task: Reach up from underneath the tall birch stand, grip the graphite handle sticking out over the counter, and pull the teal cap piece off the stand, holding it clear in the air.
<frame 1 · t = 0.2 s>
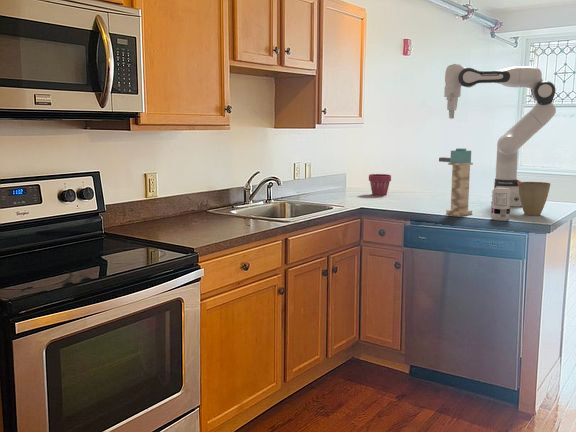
hand: (451, 118, 331), 48 cm above the worktop, tool pointing down, fingers open, 8 cm apart
plant pot: (532, 214, 293), on the worktop
teal cap handle: (460, 162, 292), point 26 cm above the worktop, touching birch stand
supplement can: (500, 219, 280), on the worktop
plant pot 2: (379, 195, 373), on the worktop
birch stand: (458, 214, 296), on the worktop
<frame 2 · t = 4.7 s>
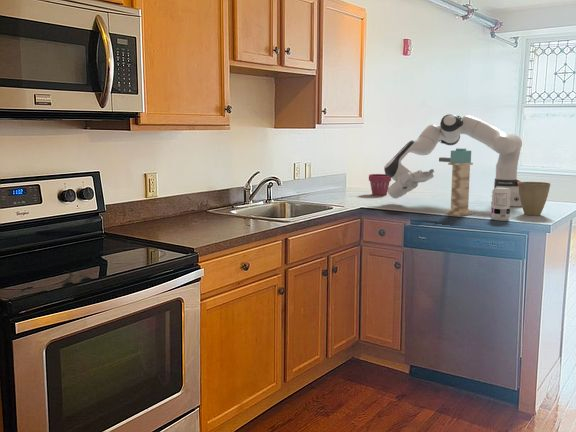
hand: (426, 170, 310), 20 cm above the worktop, tool pointing upward, fingers open, 8 cm apart
nothing on the worktop moved.
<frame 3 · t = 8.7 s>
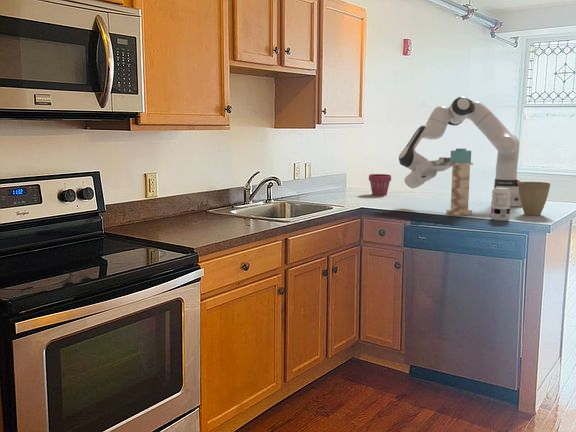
hand: (446, 158, 298), 27 cm above the worktop, tool pointing upward, fingers closed on teal cap handle, 3 cm apart
teal cap handle: (460, 162, 292), point 26 cm above the worktop, touching birch stand, gripper
everything else where it was.
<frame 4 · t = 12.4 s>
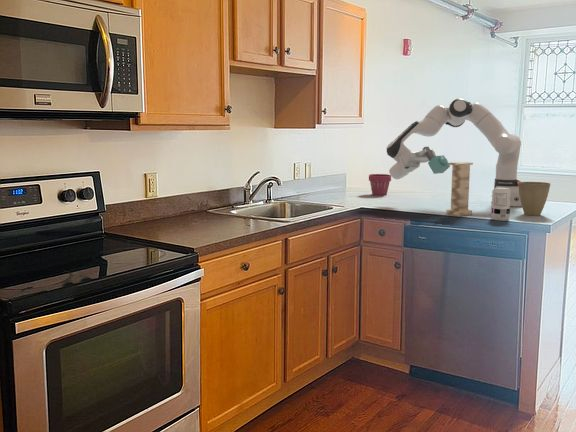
hand: (429, 150, 307), 31 cm above the worktop, tool pointing upward, fingers closed on teal cap handle, 3 cm apart
teal cap handle: (435, 168, 305), point 22 cm above the worktop, tilted 50°, touching gripper
everything else where it was.
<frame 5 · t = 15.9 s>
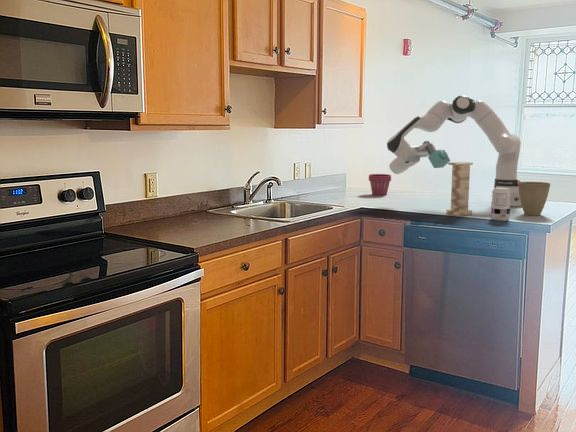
hand: (429, 144, 307), 34 cm above the worktop, tool pointing upward, fingers closed on teal cap handle, 3 cm apart
teal cap handle: (435, 162, 305), point 25 cm above the worktop, tilted 50°, touching gripper
everything else where it was.
at the end: the gripper is holding teal cap handle; teal cap handle touching gripper; teal cap handle moved 16.1 cm from its start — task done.
